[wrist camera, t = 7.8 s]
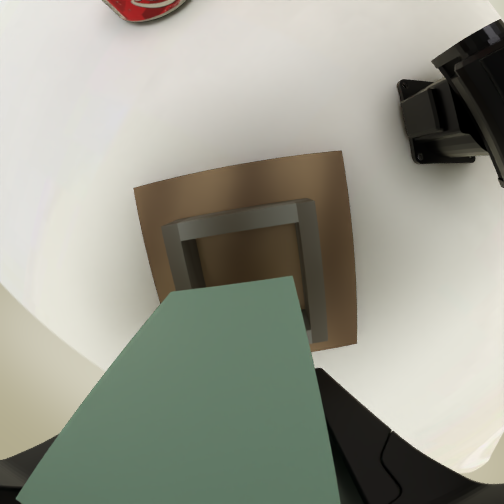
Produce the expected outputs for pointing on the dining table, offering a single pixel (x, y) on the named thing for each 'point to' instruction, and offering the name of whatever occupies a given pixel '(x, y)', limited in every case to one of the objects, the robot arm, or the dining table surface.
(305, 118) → the dining table surface
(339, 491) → the robot arm
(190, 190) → the square socket base
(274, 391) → the rail post
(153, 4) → the soda can
